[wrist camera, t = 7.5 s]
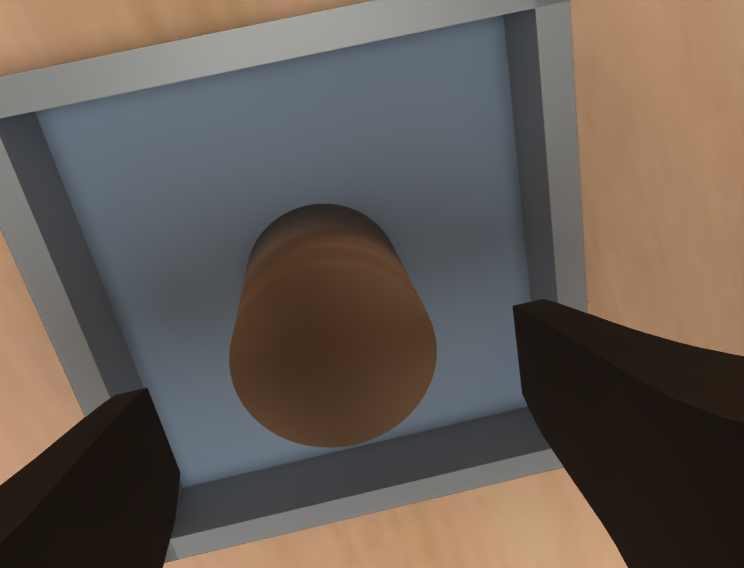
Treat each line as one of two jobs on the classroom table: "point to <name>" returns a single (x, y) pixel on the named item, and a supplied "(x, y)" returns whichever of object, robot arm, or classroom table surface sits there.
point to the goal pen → (283, 194)
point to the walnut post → (329, 330)
